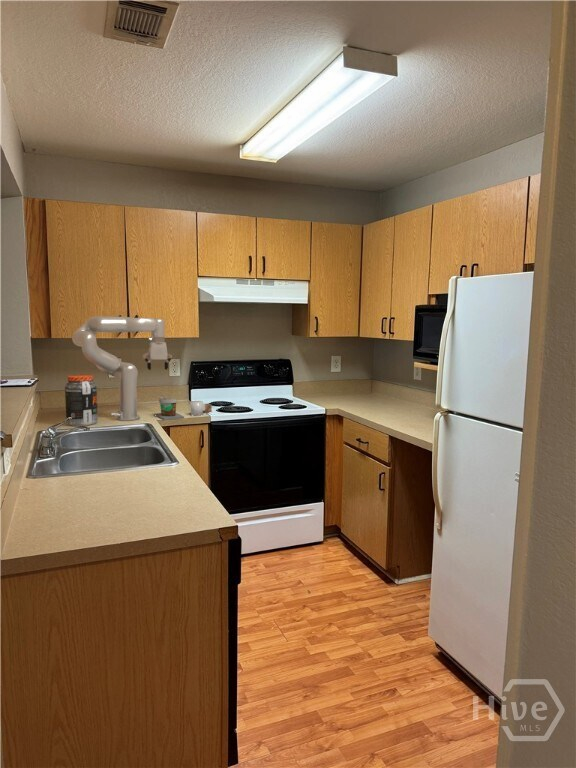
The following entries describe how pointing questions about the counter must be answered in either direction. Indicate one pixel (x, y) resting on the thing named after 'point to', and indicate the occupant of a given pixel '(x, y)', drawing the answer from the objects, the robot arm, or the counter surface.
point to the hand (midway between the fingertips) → (157, 369)
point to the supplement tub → (81, 400)
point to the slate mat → (169, 416)
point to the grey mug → (197, 408)
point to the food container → (168, 406)
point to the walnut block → (208, 408)
